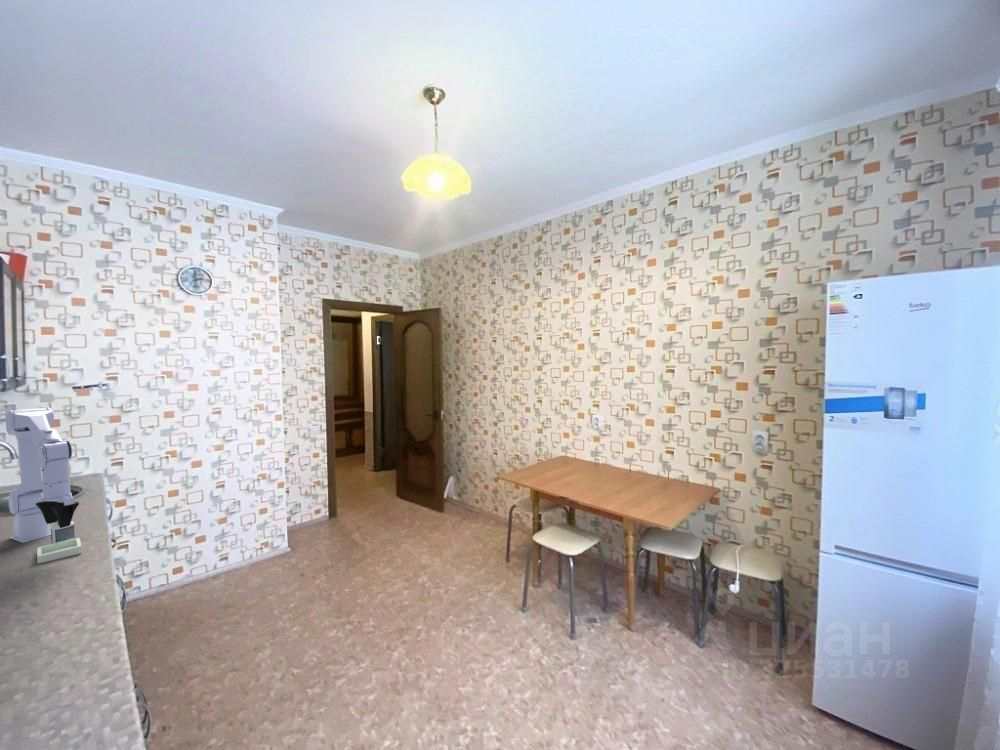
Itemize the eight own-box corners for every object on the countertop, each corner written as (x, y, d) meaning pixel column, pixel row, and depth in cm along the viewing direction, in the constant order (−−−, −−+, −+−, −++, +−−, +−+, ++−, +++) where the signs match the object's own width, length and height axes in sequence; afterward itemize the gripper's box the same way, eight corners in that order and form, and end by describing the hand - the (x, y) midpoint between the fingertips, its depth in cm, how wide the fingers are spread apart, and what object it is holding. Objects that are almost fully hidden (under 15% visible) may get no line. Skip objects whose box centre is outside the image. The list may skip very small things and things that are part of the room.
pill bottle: (79, 540, 134) (78, 514, 134) (61, 547, 129) (59, 520, 129) (65, 539, 135) (64, 513, 134) (46, 547, 129) (45, 520, 129)
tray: (37, 554, 124) (37, 547, 124) (80, 544, 131) (79, 537, 131) (37, 564, 118) (37, 556, 118) (81, 553, 125) (81, 545, 125)
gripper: (25, 482, 122) (27, 526, 123) (50, 488, 117) (52, 533, 118) (57, 476, 129) (59, 517, 130) (82, 481, 124) (84, 524, 124)
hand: (58, 524), depth 124 cm, fingers open, 7 cm apart
